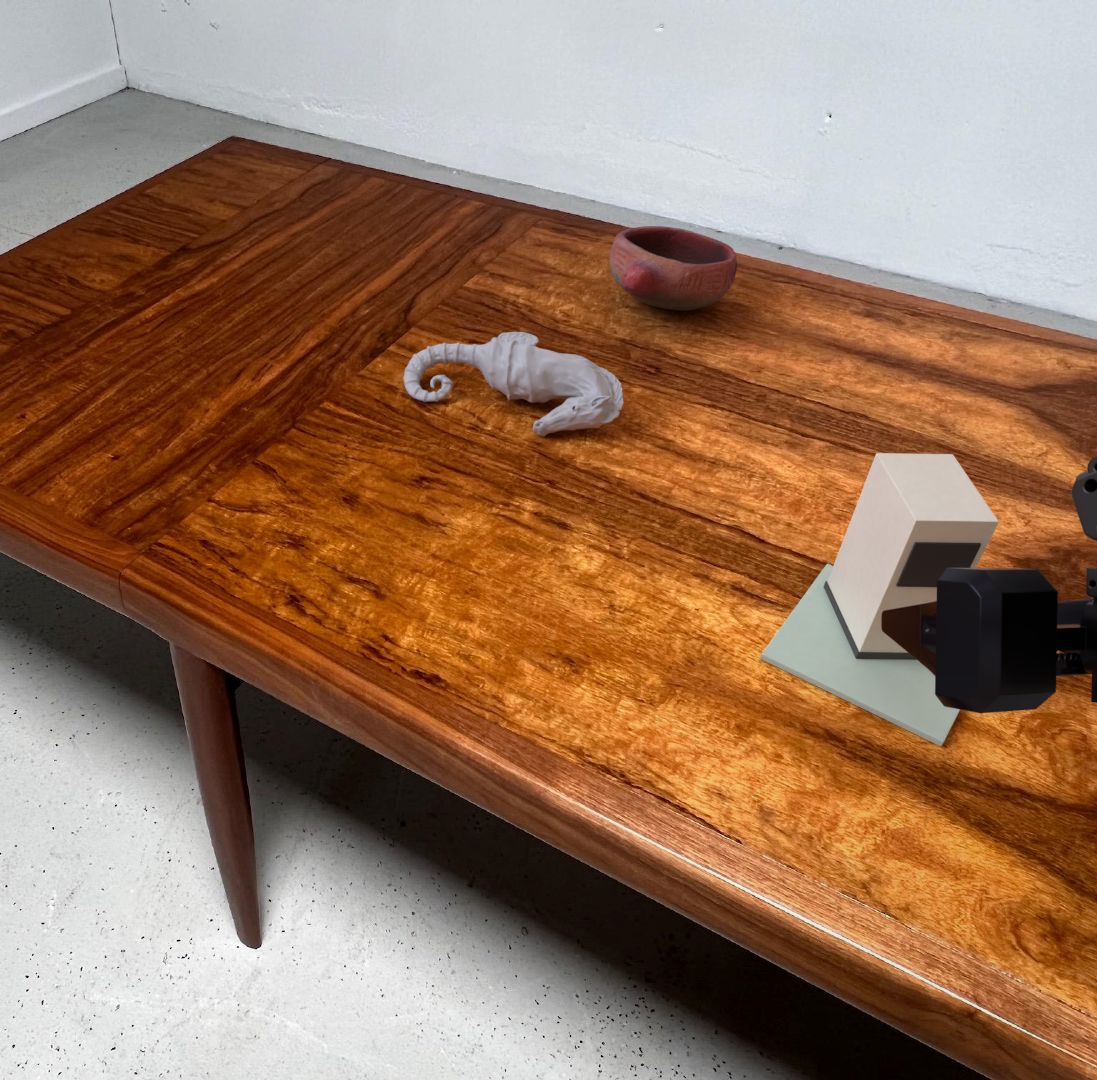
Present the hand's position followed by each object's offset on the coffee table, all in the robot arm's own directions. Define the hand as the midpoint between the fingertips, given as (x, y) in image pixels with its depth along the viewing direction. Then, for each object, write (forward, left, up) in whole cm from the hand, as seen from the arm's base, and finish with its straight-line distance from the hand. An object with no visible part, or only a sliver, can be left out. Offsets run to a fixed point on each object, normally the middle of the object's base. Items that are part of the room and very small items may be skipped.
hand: (948, 619), depth 57 cm
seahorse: (+40, -20, -13) cm, 47 cm away
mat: (+3, -10, -13) cm, 17 cm away
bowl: (+37, -45, -13) cm, 60 cm away
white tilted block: (+4, -12, -12) cm, 18 cm away
